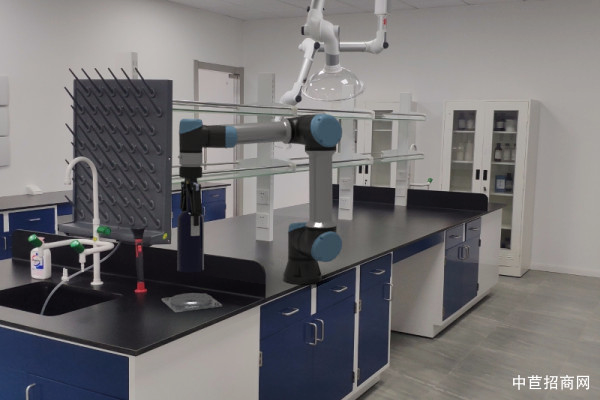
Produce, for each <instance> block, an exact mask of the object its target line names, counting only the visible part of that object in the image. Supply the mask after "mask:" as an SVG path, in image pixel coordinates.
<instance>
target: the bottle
mask: <svg viewBox="0 0 600 400" xmlns="http://www.w3.org/2000/svg"><path fill="white" fill-rule="evenodd" d="M186 184H188V181H186ZM186 194H187V210H186V211H183V212H182V211H181V212H180V214H179V215H178V216H177V220H176V222H177V223H176V224H177V225H176V227H177V229H176V231H177V234H176V237H177V240H176V241H177V243H176V244H177V245H176V249H177V251H176V252H177V253H176V254H177V255H176V257H177V259H176V260H177V261H176V263H177V264H176V265H177V266H176V267H177V268H176V269H177V270H176V271H177V272H180V273H190V274H193V273H200V272H203V271H204V270H205V268H204V267H205V265H204V263H205V261H204V260H205V259H204V258H205V257H204V256H205V254H204V253H205V250H204V248H205V247H204V246H205V244H204V243H205V239H204V238H205V236H204V235H205V230H204V229H205V227H204V226H205V225H204V224H205V222H204V221H205V220H204V219H205V217H204V215H203V214H202V215H200V236H191V216H190V214H192V211H191V204H190V197H188V193H187V189H186Z"/></svg>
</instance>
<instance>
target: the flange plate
mask: <svg viewBox="0 0 600 400" xmlns="http://www.w3.org/2000/svg"><path fill="white" fill-rule="evenodd" d="M161 301H162V302H163V303H164V304H165V305H166V306H168V308H170V309H171V310H172V311H173V312H174V313H181V312H189V311H197V310H205V309H212V308H220V307H221V308H222V307H223V304H222V303H220V302H219V301H218V300H217V299H215V298H213V297H212V296H211V295H209V294H208V293H205V292H203V293H200V292H198V293H197V292H189V293H188V292H187V293H186V292H185V293H181V294H175V295H173V296H172V297H163V298H161Z"/></svg>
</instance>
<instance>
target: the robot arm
mask: <svg viewBox="0 0 600 400" xmlns="http://www.w3.org/2000/svg"><path fill="white" fill-rule="evenodd" d="M178 127H179V128H178V138H179V139H178V144H179V145H178V147H179V150H178V151H179V155H178V156H177V158H178V159H179V163H178V164H179V165H180V166H179V167H178V170H179V171H178V174H179V176H178V177H179V178H180V179H184V180H183V181H180V185H181V186H180V201H179V210H181V212H183V211H186V210H187V194H186V189H187V193H188V197H190V204H191V211H192V214H190V216H191V236H200V215H203V205H202V185H201V184H200V183H198V179H202V177H203V167H202V165H203V148H204V149H208V148H209V149H232V148H235V147H236V146H237V145H239V146H240V145H250V144H262V143H264V144H265V143H278V142H280V143H281V142H282V143H283V144H284V145H287V144H291V145H293V144H294V145H303V146H304V153H306V154H307V156H308V189H309V190H308V191H309V192H308V199H309V200H308V202H309V203H308V204H309V205H308V206H309V209H308V210H309V211H308V212H309V214H308V215H309V218H308V219H309V220H308V221H304V222H292V223H290V224H289V225H288V230H287V234H288V235H287V240H288V242H287V249H288V252H287V263H286V265H285V269H284V271H283V277H282V278H283V281H284V282H286V283H288V284H293V285H313V284H317V283H321V282H322V280H323V279H322V278H323V275H322V272H321V268H320V265H319V262H322V263H329V262H332V261H334V260H335V259H336V258H338V256H339V255H340V253H341V251H342V248H343V241H342V237H341V236H340V235H339V234H338V233H337V229H338V228H337V227H338V226H337V223H336V222H335V221H334V220H333V156H334V155H335V154H336V153H337V144H339V142H340V141H341V139H342V137H343V128H342V125H341V123H340V121H339V120H338V118H336V117H335V116H333V115H332V114H327V113H317V114H315V113H314V114H304V115H299V116H295V117H294V116H293V117H287V118H286V117H285V118H282V119H281V120H280V121H279V120H278V121H265V122H263V121H262V122H246V123H245V122H244V123H243V122H242V123H230V124H229V123H228V124H227V123H226V124H225V123H224V124H214V125H213V124H211V125H207V124H204V122H203V119H201V118H181V120H180V121H179V125H178ZM186 181H188V184H186Z"/></svg>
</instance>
